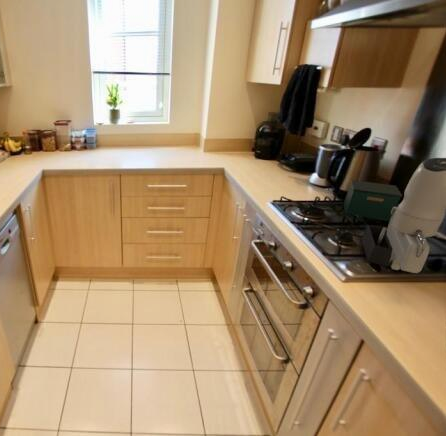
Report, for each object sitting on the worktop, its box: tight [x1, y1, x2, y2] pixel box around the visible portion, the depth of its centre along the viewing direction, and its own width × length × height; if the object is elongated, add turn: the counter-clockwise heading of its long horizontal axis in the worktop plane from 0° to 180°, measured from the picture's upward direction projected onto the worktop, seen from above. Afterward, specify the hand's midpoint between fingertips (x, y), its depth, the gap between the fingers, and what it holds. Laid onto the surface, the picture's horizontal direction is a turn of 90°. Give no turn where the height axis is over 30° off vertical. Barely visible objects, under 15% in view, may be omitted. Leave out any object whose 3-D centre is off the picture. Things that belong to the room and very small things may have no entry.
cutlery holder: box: [361, 224, 393, 268], centre depth 95 cm, size 9×14×10 cm, turn 152°
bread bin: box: [343, 179, 403, 223], centre depth 121 cm, size 14×11×11 cm
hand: (393, 266), depth 86 cm, fingers closed
